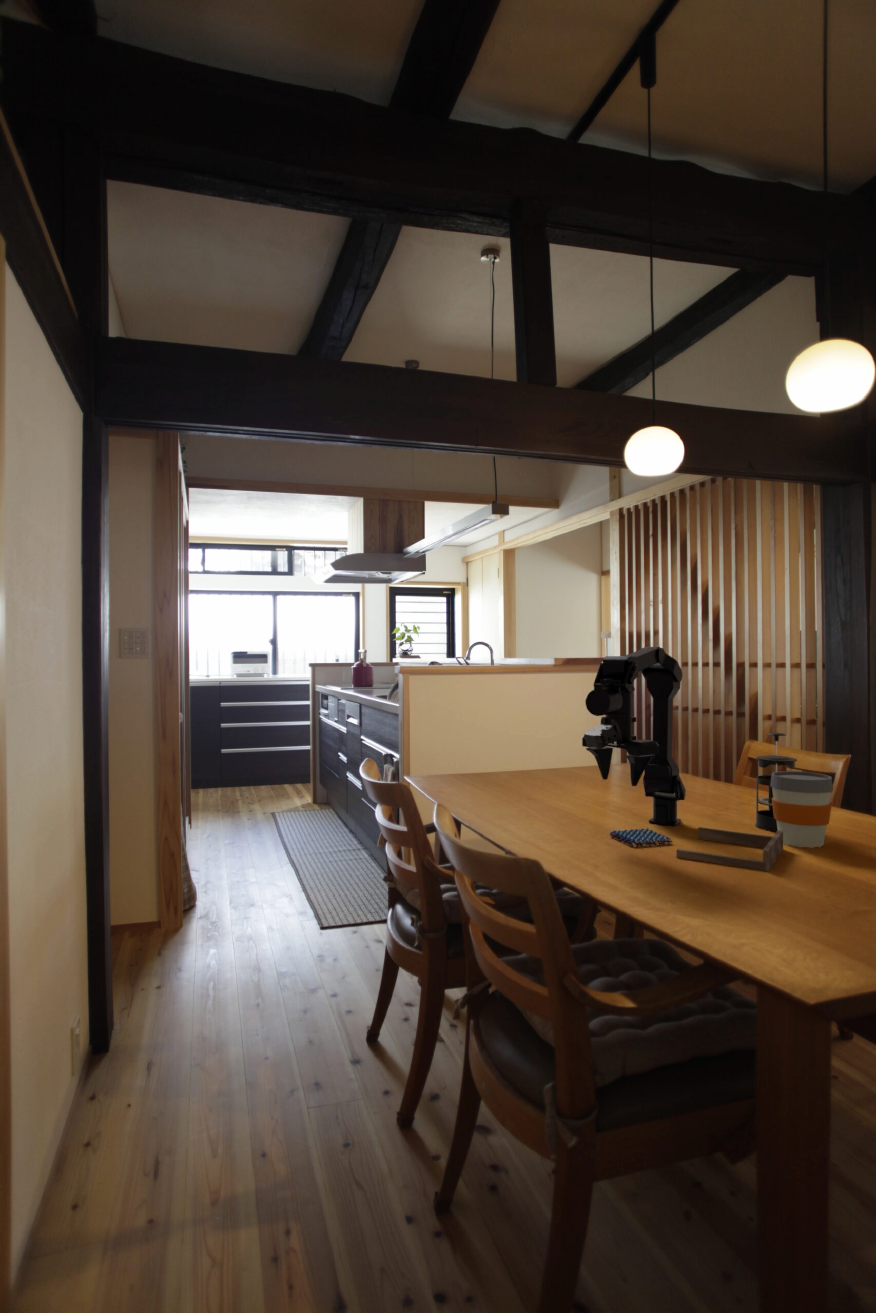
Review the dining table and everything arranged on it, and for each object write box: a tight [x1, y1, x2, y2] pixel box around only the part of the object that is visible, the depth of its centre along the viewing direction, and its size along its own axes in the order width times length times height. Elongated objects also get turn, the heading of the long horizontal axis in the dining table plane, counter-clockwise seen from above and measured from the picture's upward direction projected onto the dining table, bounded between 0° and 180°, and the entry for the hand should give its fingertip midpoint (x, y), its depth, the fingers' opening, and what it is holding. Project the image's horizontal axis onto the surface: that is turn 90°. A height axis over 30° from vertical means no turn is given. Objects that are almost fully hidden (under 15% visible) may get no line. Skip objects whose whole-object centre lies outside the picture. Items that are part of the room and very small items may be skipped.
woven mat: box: [609, 827, 673, 848], centre depth 164 cm, size 10×11×2 cm
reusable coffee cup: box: [770, 770, 834, 849], centre depth 162 cm, size 13×13×15 cm
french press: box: [754, 732, 798, 832], centre depth 177 cm, size 12×9×23 cm
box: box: [676, 826, 784, 872], centre depth 153 cm, size 19×18×4 cm
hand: (619, 782), depth 161 cm, fingers open, 9 cm apart
